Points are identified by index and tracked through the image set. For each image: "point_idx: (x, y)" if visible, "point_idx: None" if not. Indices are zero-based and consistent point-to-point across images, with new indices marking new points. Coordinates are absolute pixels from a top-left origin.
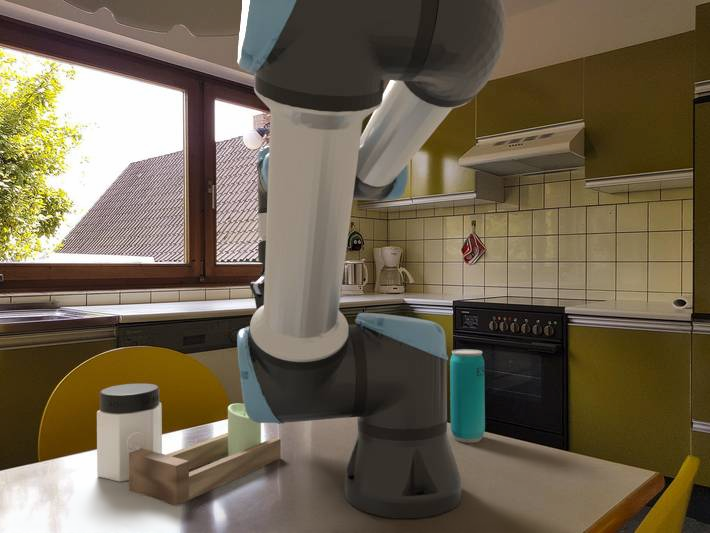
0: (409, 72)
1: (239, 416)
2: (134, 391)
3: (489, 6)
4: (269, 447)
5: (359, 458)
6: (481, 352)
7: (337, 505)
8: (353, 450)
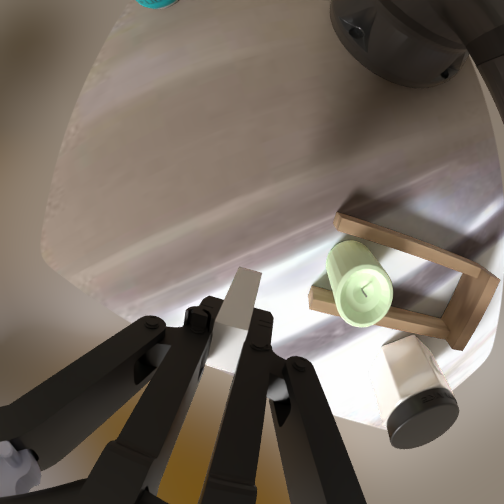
0: None
1: (392, 289)
2: (442, 416)
3: None
4: (366, 224)
5: (467, 56)
6: None
7: (450, 93)
8: (451, 63)
